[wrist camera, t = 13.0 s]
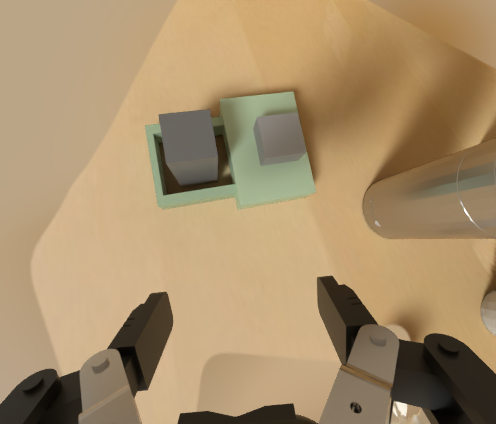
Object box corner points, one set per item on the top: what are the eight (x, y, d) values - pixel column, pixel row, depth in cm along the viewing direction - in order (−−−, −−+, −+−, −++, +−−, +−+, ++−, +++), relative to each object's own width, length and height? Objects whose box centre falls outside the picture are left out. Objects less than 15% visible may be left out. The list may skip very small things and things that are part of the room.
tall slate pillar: (211, 147, 34) (209, 109, 24) (217, 181, 33) (218, 156, 23) (175, 152, 33) (158, 114, 23) (181, 186, 32) (166, 163, 23)
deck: (284, 107, 36) (301, 76, 29) (304, 197, 35) (326, 187, 28) (149, 123, 33) (131, 92, 26) (165, 222, 32) (151, 217, 25)
